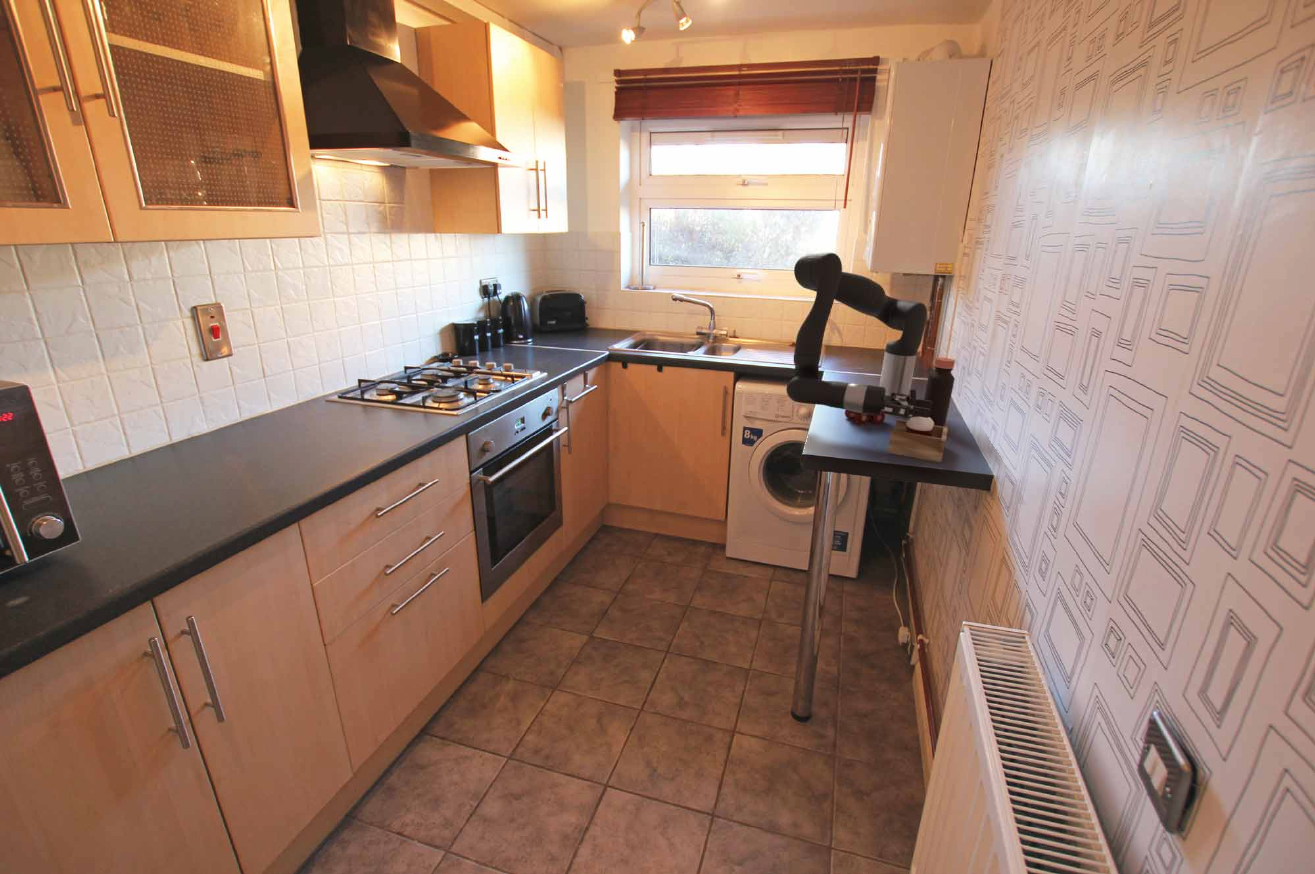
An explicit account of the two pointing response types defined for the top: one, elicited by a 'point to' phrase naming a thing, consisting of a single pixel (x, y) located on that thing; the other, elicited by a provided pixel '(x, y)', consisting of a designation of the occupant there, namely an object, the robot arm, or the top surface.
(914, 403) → the cocoa
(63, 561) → the top surface
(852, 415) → the toy fire truck
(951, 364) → the bottle
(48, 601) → the top surface
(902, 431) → the wooden tray
